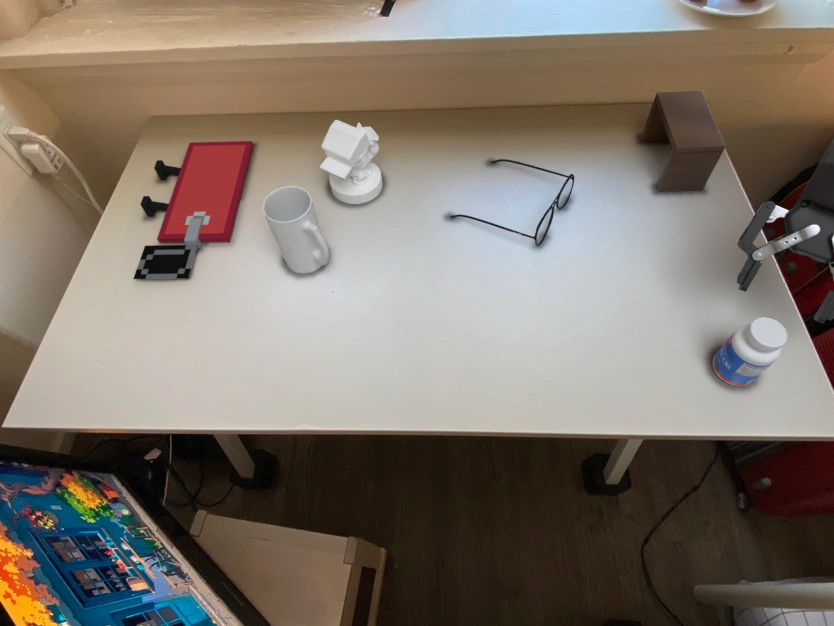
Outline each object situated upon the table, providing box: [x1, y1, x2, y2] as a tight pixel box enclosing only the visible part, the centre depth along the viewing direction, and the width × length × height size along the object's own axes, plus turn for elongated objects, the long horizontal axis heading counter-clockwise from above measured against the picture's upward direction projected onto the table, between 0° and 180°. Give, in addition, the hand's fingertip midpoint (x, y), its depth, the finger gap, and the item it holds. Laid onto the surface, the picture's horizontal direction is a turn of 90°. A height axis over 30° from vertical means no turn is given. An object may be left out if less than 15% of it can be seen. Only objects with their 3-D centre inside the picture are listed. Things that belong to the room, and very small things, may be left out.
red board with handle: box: [132, 140, 254, 280], centre depth 92 cm, size 30×3×15 cm
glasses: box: [449, 158, 575, 247], centre depth 88 cm, size 14×15×5 cm
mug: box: [262, 185, 330, 274], centre depth 80 cm, size 10×7×12 cm, turn 48°
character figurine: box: [319, 119, 383, 205], centre depth 89 cm, size 9×10×12 cm
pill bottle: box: [712, 316, 788, 387], centre depth 69 cm, size 6×5×10 cm
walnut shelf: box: [640, 89, 727, 193], centre depth 89 cm, size 13×7×9 cm, turn 0°
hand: (779, 305), depth 65 cm, fingers open, 8 cm apart
